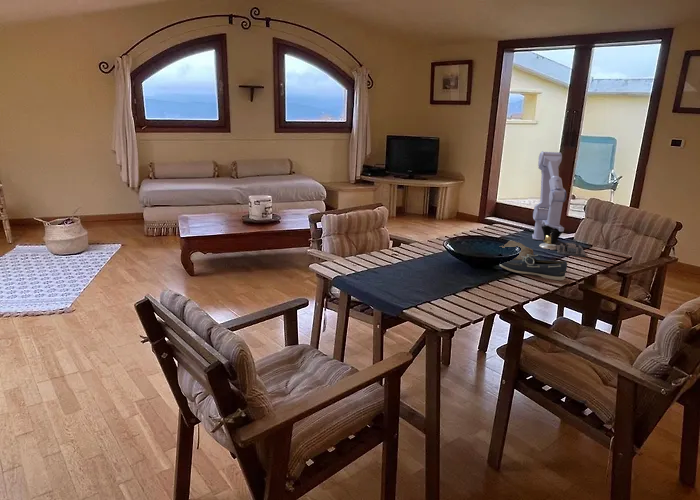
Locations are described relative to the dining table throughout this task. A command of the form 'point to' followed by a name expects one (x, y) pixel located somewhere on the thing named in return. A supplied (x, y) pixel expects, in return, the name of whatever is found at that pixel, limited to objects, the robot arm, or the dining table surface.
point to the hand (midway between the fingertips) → (549, 242)
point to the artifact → (524, 250)
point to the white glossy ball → (548, 246)
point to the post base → (570, 250)
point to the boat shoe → (537, 267)
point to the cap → (547, 239)
